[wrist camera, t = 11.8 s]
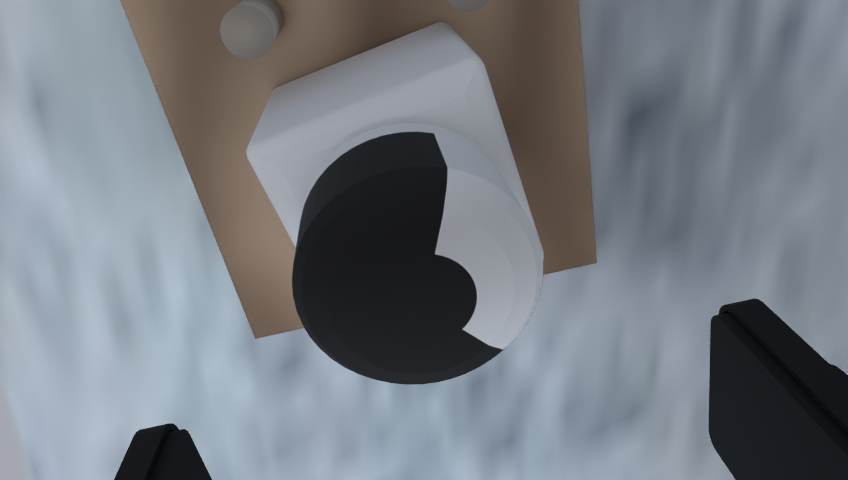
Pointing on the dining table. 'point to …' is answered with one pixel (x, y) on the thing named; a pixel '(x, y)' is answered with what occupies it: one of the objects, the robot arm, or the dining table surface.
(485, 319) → the white capped block
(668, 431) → the dining table surface
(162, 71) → the wooden peg board
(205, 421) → the dining table surface
